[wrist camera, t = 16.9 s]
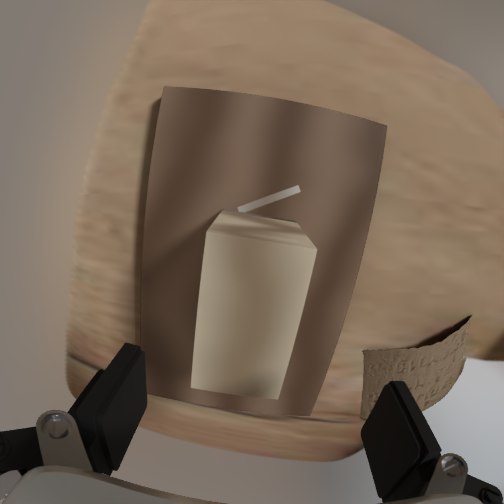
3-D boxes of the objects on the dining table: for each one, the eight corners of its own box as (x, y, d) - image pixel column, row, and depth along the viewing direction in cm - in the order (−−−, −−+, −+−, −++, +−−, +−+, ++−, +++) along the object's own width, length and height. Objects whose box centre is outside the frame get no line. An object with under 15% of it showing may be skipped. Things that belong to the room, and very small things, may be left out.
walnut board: (379, 127, 20) (387, 125, 19) (307, 405, 27) (309, 416, 26) (169, 91, 20) (163, 86, 18) (147, 382, 27) (142, 392, 25)
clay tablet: (472, 308, 25) (486, 319, 22) (460, 379, 28) (470, 391, 25) (349, 348, 26) (358, 365, 23) (352, 417, 29) (358, 434, 26)
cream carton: (295, 221, 21) (317, 249, 14) (271, 334, 23) (277, 399, 16) (223, 209, 21) (206, 231, 13) (207, 325, 23) (190, 387, 16)
